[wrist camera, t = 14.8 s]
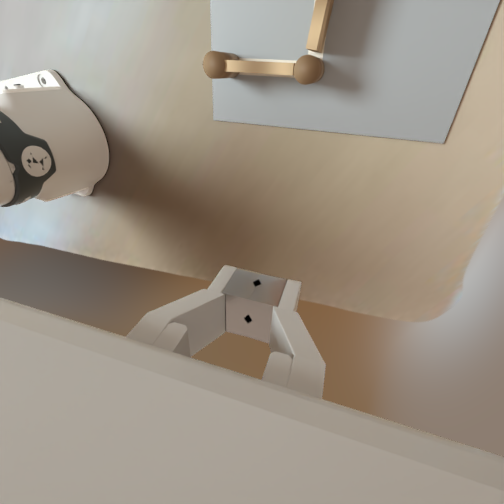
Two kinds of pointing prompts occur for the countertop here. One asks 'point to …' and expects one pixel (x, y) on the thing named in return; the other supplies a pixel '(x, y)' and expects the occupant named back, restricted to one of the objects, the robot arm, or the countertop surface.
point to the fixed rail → (262, 67)
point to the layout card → (352, 64)
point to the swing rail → (319, 25)
